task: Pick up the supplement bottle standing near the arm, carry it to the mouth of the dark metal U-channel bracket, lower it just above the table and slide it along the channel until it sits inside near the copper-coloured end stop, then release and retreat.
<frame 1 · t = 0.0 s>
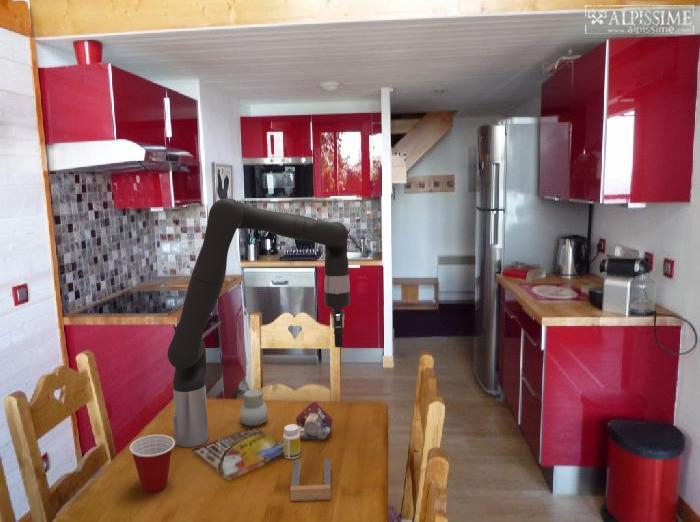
hand: (338, 342, 150), 29 cm above the table, fingers open, 8 cm apart
air freshener: (254, 422, 164), on the table
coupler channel: (311, 482, 129), on the table
plastic cup: (156, 487, 128), on the table
supplement bottle: (292, 455, 142), on the table
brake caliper: (314, 436, 153), on the table
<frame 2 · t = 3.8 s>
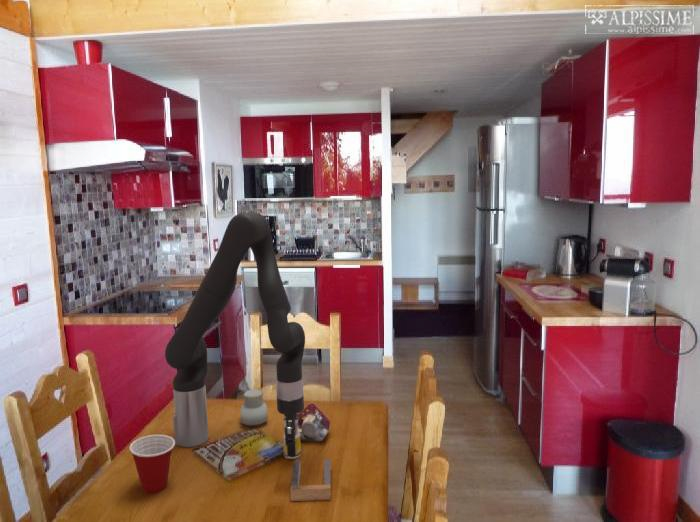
hand: (292, 450, 142), 1 cm above the table, fingers closed on supplement bottle, 4 cm apart
supplement bottle: (292, 455, 142), on the table, touching gripper
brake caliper: (312, 438, 152), on the table
everything else where it was.
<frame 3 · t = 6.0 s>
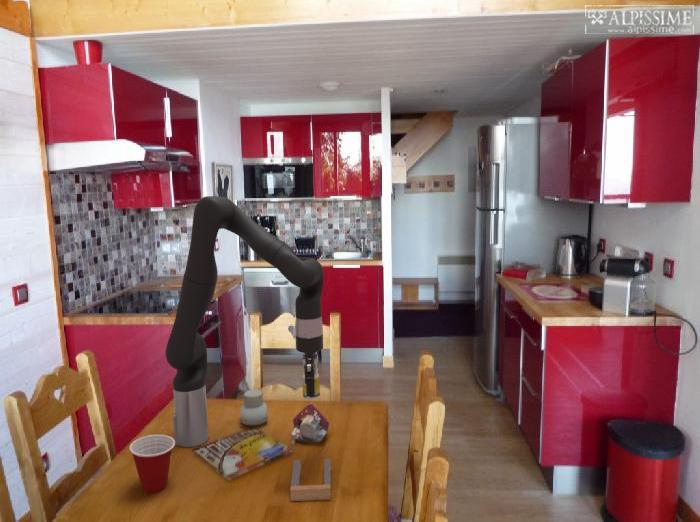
hand: (311, 391, 139), 19 cm above the table, fingers closed on supplement bottle, 4 cm apart
supplement bottle: (311, 397, 139), point 18 cm above the table, touching gripper
everything else where it was.
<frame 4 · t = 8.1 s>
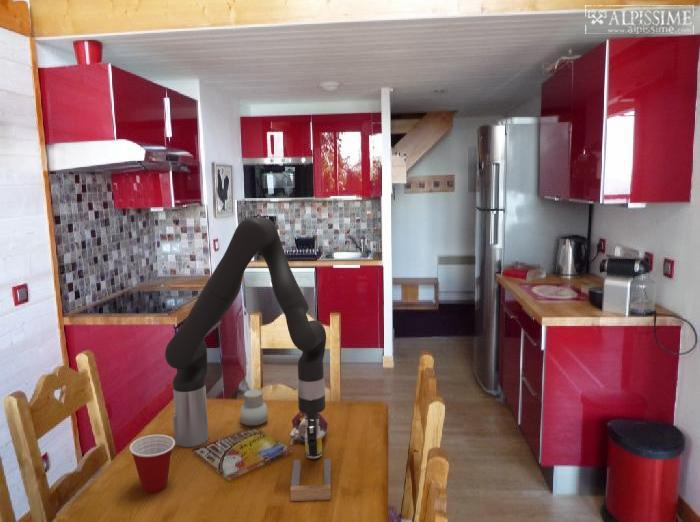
hand: (313, 450, 141), 2 cm above the table, fingers closed on supplement bottle, 4 cm apart
supplement bottle: (313, 455, 141), on the table, touching gripper
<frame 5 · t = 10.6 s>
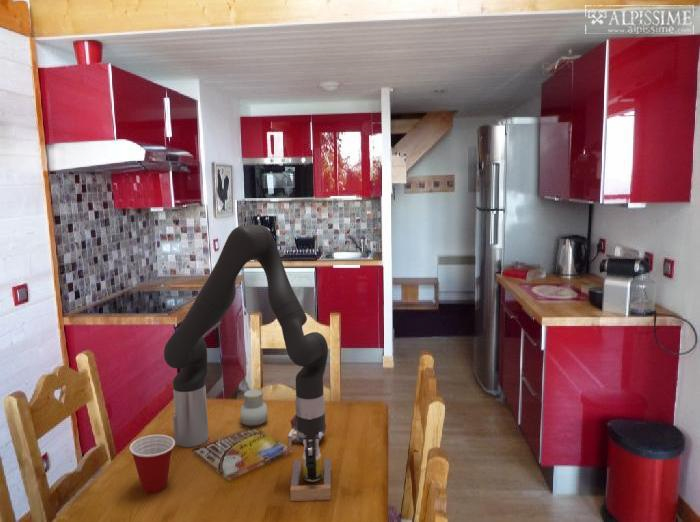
hand: (312, 472, 130), 2 cm above the table, fingers closed on supplement bottle, 4 cm apart
supplement bottle: (312, 477, 130), on the table, touching gripper
when the fingers open (2 cm above the table, at t = 12.5 s): supplement bottle stays where it is, on the table.
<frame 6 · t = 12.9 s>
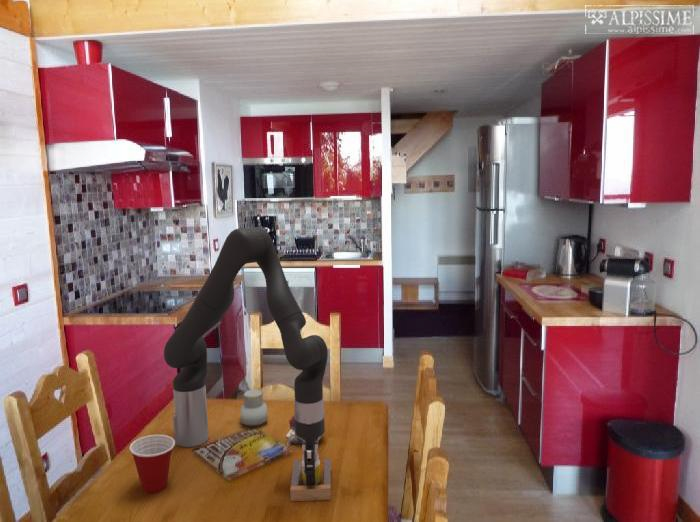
hand: (311, 475, 127), 2 cm above the table, fingers open, 8 cm apart
supplement bottle: (311, 485, 128), on the table
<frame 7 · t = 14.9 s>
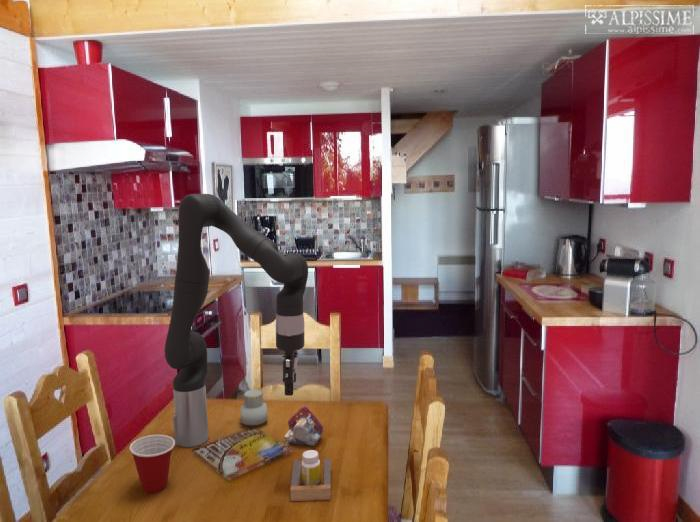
hand: (290, 388, 134), 22 cm above the table, fingers open, 8 cm apart
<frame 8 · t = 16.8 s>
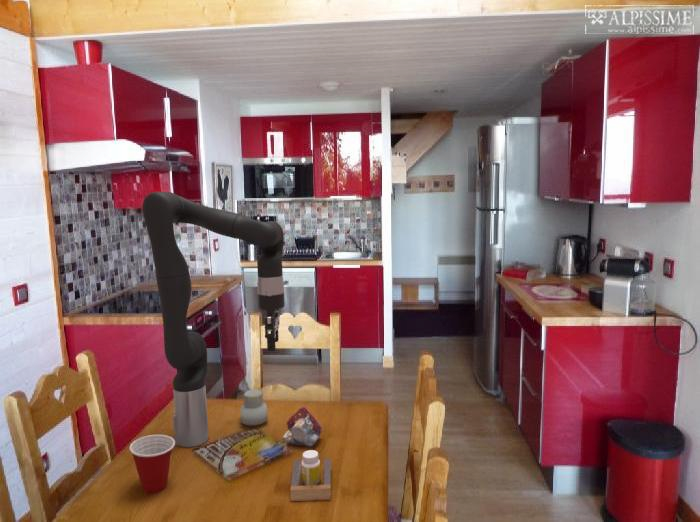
hand: (273, 346, 145), 30 cm above the table, fingers open, 8 cm apart
at the end: supplement bottle inside the target area on the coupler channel (1.4 cm from its centre), point 0.0 cm above the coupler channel's base; supplement bottle tilted 0°; the gripper is holding nothing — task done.
